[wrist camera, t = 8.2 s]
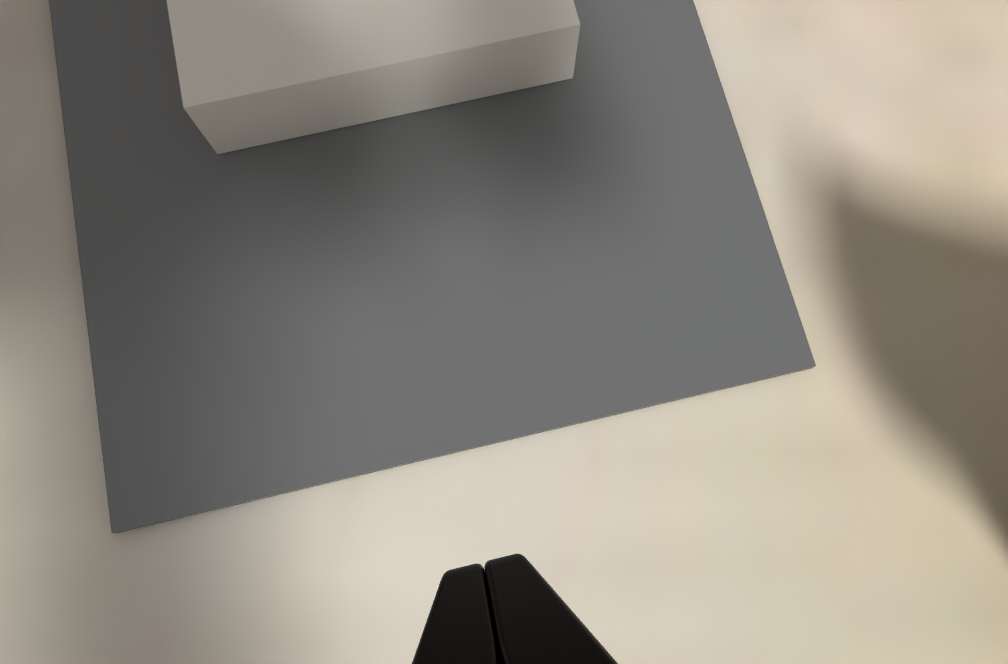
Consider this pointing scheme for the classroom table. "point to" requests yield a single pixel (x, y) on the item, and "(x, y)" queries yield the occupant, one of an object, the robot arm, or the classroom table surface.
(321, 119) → the picture tile
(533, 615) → the robot arm
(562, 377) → the felt mat
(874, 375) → the classroom table surface
